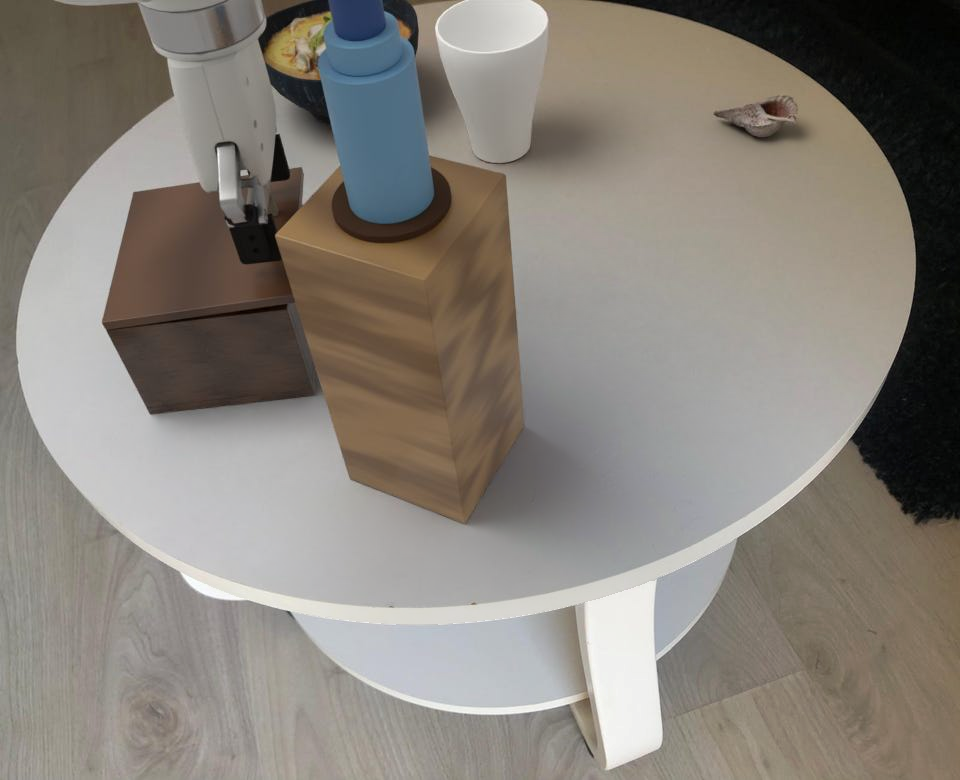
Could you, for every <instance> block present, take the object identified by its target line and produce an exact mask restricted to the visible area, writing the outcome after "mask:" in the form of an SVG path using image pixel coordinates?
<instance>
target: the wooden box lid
mask: <svg viewBox="0 0 960 780" xmlns="http://www.w3.org/2000/svg"><path fill="white" fill-rule="evenodd" d="M289 170H290V178H289V179H288V180H285V181H276V182H271V177H270V179H269V181H268V182H267V183H266V184H265V185H264V186H263V187H264V194H265V201H266V208H267V214H271V213H272V214H273V218H274V221H275V224H276V228H277V231H279V230H280V229H281V228H282V227H283V226H284V225H285V224H286V223H287V222H288V221H289V220H290V219H291V217H292V216H293V215H294V214H295V213H296V212H297V211H298V210H299V209H300V208H301V207H302V205H303V196H304V181H305V173H304V170H303V167H302V166H299V167H293V168H289ZM248 178H254V177H253V175H252V174H251V173H250V177H249V175H248V174H245V175H241V179H248ZM241 190H242V195H243V198H244V200H245V204H251V205H253V206H255V207H256V205H255V198H254V192H253V188H247V189H241ZM128 208H129V209H128V212H127V217H126V221H125V224H124V230H123V233H122V238H121V241H120V245H119V250H118V254H117V258H116V262H115V266H114V270H113V275H112V278H111V282H110V286H109V290H108V295H107V299H106V303H105V308H104V312H103V315H102V321H101V325H102V326H103V328H104V329H105V331H106V330H109V329H116V328H123V327H130V326H137V325H144V324H150V323H157V322H164V321H171V320H178V319H185V318H192V317H199V316H206V315H213V314H220V313H227V312H234V311H241V310H248V309H255V308H262V307H269V306H276V305H282V304H289V303H295V299H294V296H293V293H292V289H291V286H290V283H289V280H288V276H287V273H286V270H285V267H284V263H283V260H281V261H273V262H265V263H256V264H247V265H245V264H243V263H241V261H240V259H239V256H238V253H237V250H236V247H235V244H234V241H233V239H232V236H231V233H230V230H229V228H228V226H227V223H226V220H225V219H224V217H225V214H224V212H223V211H222V209H221V206H220V200H219V185H218V191H212V192H211V193H208V192H206V191H205V190H204V189H203V188H202V187H201V185H200V182H199V181H198V182H192V183H185V184H178V185H172V186H166V187H165V186H163V187H156V188H151V189H145V190H137V191H133V192H132V196H131V201H130V204H129V207H128Z"/></svg>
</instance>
